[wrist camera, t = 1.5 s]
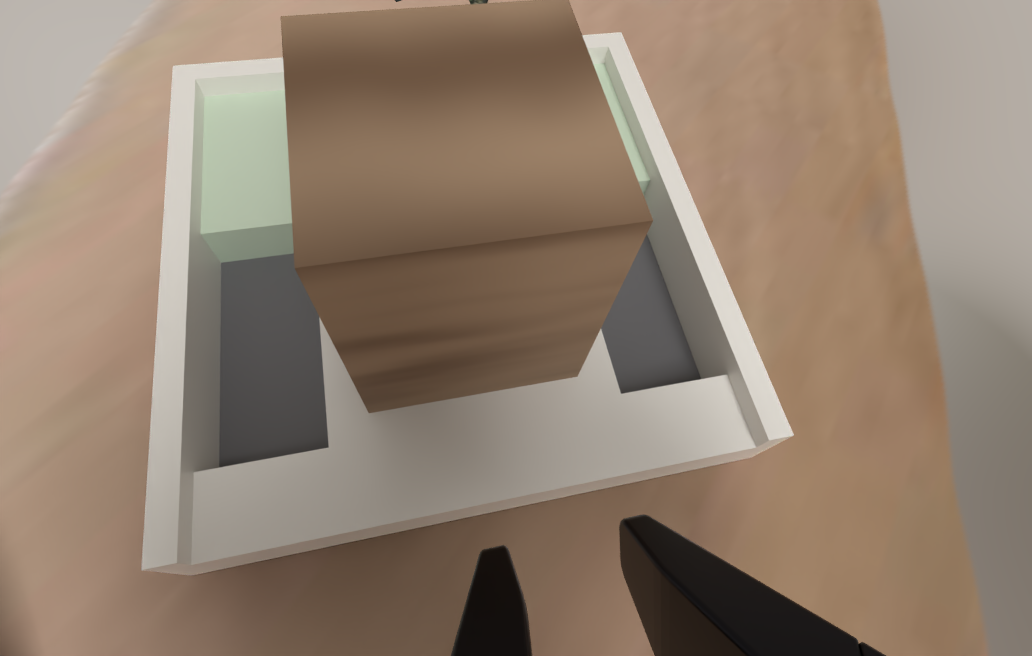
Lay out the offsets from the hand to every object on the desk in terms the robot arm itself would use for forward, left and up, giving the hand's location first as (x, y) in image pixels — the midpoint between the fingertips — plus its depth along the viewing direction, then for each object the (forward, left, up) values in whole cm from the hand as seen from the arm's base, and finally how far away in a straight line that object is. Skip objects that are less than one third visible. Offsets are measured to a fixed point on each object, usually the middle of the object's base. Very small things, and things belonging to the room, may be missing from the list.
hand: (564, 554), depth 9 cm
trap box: (+12, +6, -14) cm, 19 cm away
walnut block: (+10, +5, -11) cm, 15 cm away
